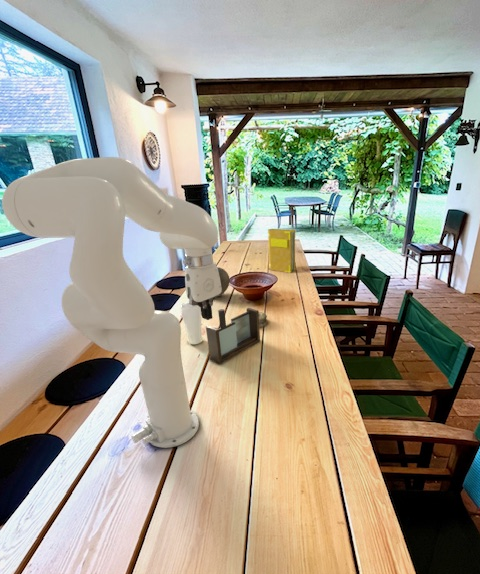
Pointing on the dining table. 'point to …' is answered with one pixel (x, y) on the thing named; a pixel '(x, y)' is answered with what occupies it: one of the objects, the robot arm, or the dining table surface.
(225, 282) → the cantaloupe
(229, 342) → the sliding pane
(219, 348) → the window frame
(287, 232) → the book
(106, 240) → the robot arm
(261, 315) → the cake
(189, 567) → the dining table surface
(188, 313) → the drinking glass
